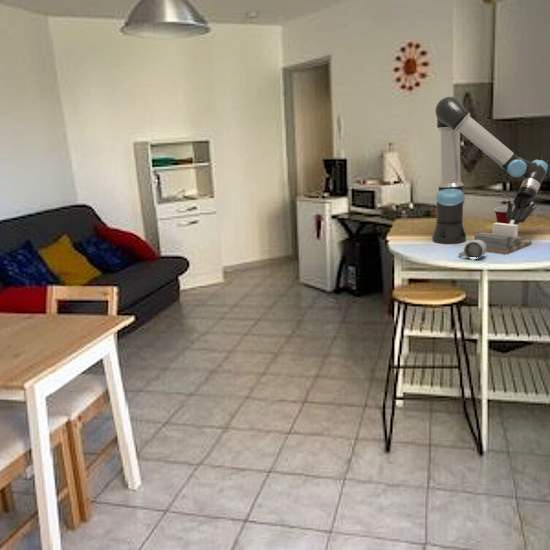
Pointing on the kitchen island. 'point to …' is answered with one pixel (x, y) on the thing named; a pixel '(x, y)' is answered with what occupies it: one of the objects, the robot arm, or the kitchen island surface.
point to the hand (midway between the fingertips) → (508, 233)
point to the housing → (501, 242)
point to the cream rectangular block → (505, 229)
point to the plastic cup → (502, 214)
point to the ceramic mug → (474, 249)
